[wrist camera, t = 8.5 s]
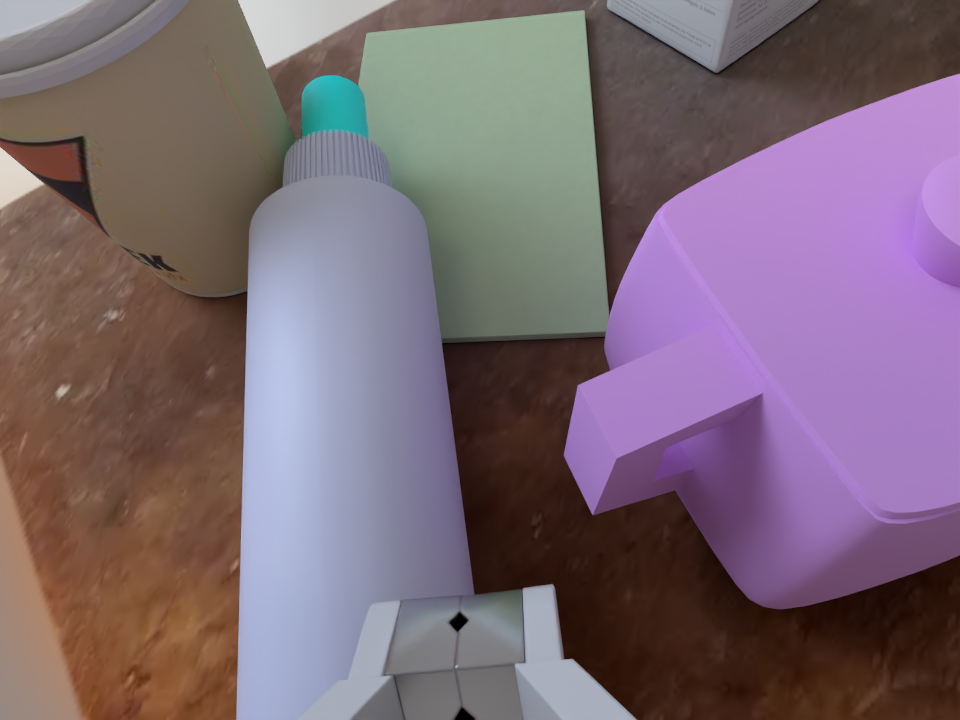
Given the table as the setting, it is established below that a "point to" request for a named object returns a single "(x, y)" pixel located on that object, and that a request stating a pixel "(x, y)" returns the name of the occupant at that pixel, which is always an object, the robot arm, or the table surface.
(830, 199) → the teapot
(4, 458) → the table surface
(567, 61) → the mat
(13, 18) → the coffee cup
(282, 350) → the spray bottle
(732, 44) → the white packaging box
